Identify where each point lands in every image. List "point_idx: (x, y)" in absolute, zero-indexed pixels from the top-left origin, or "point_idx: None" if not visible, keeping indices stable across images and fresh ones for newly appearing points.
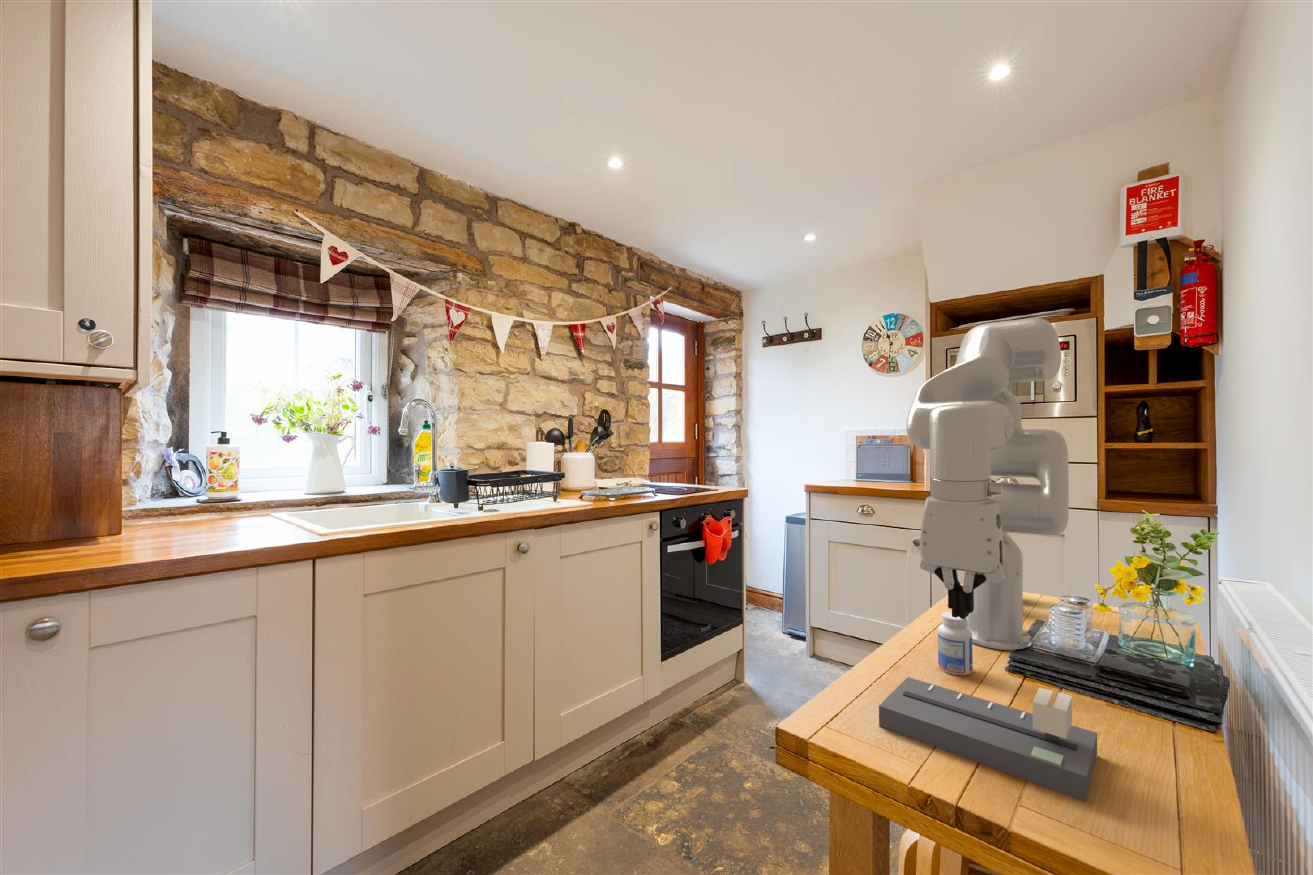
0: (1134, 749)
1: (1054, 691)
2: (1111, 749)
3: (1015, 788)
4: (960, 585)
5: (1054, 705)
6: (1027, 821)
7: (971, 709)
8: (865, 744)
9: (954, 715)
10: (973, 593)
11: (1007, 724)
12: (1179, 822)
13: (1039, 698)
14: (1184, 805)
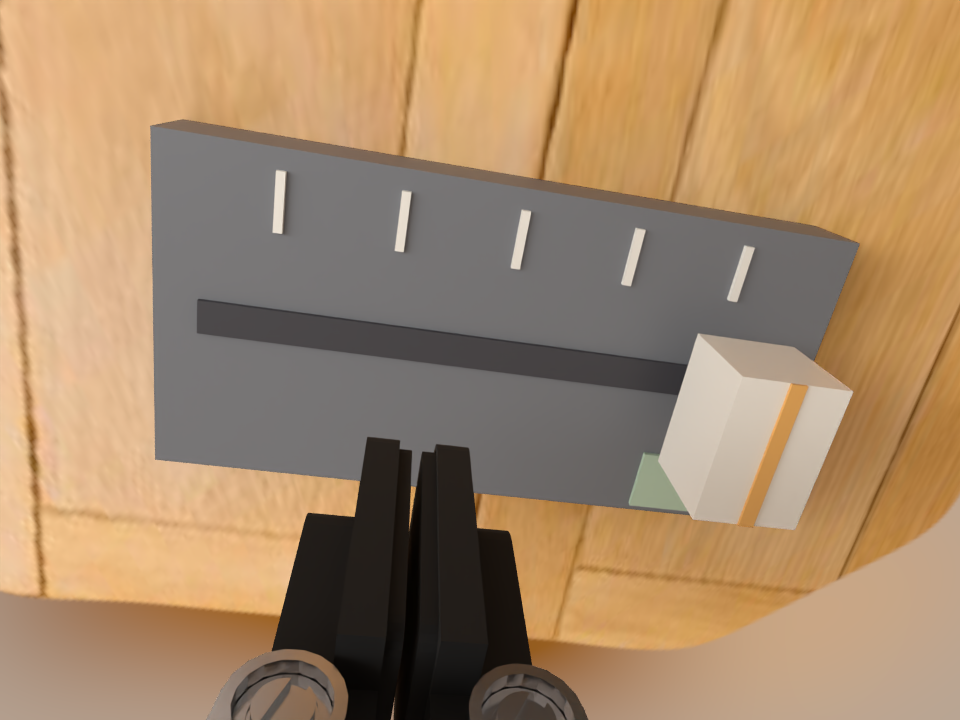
0: (947, 111)
1: (794, 393)
2: (872, 156)
3: (572, 514)
4: (376, 658)
5: (763, 508)
6: (589, 609)
7: (457, 303)
8: (191, 534)
9: (407, 383)
10: (527, 654)
11: (577, 364)
12: (898, 449)
13: (722, 479)
14: (943, 372)
